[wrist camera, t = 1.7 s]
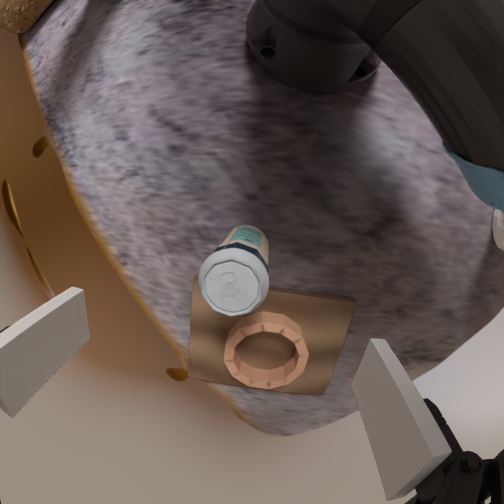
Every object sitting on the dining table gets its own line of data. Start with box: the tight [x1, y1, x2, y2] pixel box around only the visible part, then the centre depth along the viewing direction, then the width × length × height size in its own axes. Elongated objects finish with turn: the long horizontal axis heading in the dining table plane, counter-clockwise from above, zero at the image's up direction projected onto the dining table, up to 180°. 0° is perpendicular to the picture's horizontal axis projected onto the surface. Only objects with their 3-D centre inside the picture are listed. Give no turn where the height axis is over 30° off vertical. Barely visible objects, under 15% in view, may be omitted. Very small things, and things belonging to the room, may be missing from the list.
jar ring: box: [224, 311, 309, 389], centre depth 29 cm, size 9×9×2 cm
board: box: [188, 274, 356, 395], centre depth 31 cm, size 14×18×1 cm
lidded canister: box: [198, 225, 269, 316], centre depth 23 cm, size 5×5×12 cm
